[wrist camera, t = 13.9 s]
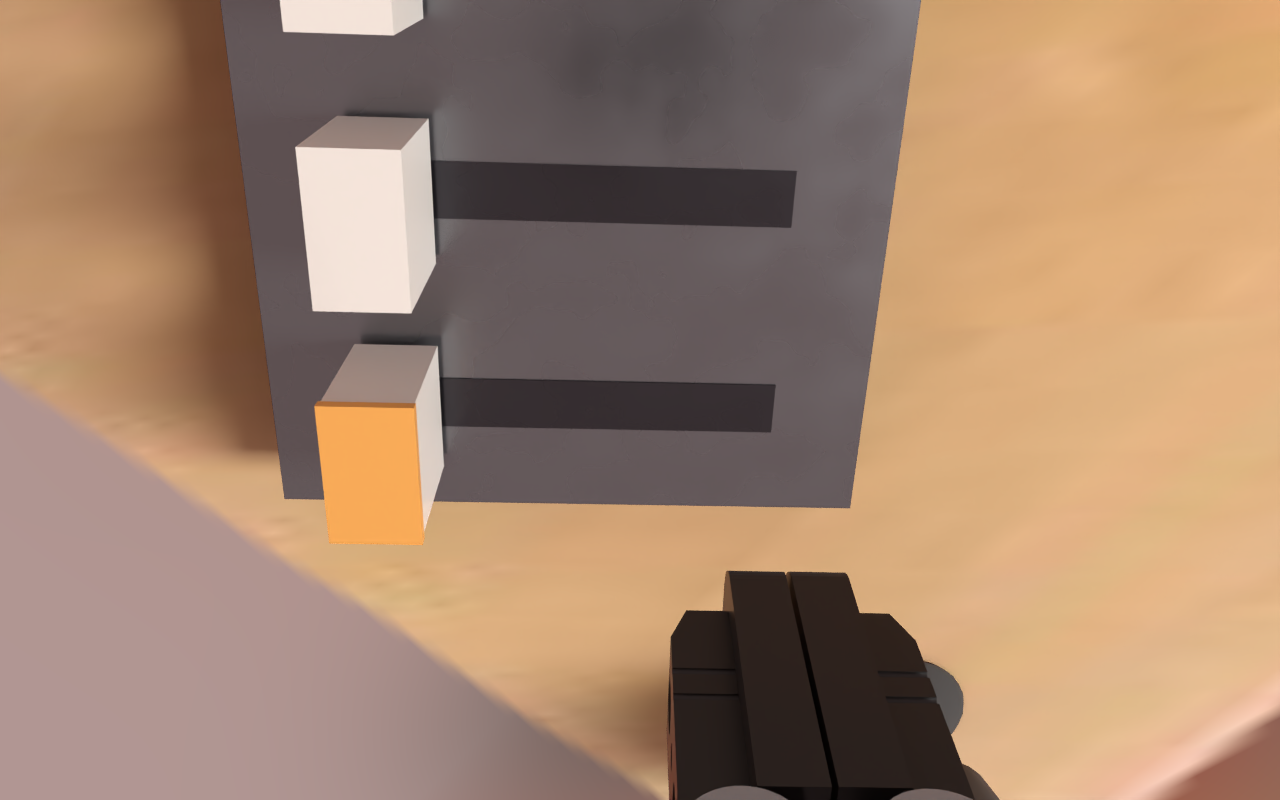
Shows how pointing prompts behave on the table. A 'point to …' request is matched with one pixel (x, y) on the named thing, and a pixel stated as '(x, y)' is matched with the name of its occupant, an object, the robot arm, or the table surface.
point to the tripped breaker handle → (381, 444)
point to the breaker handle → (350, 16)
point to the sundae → (956, 721)
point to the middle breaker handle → (367, 213)
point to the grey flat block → (604, 237)
